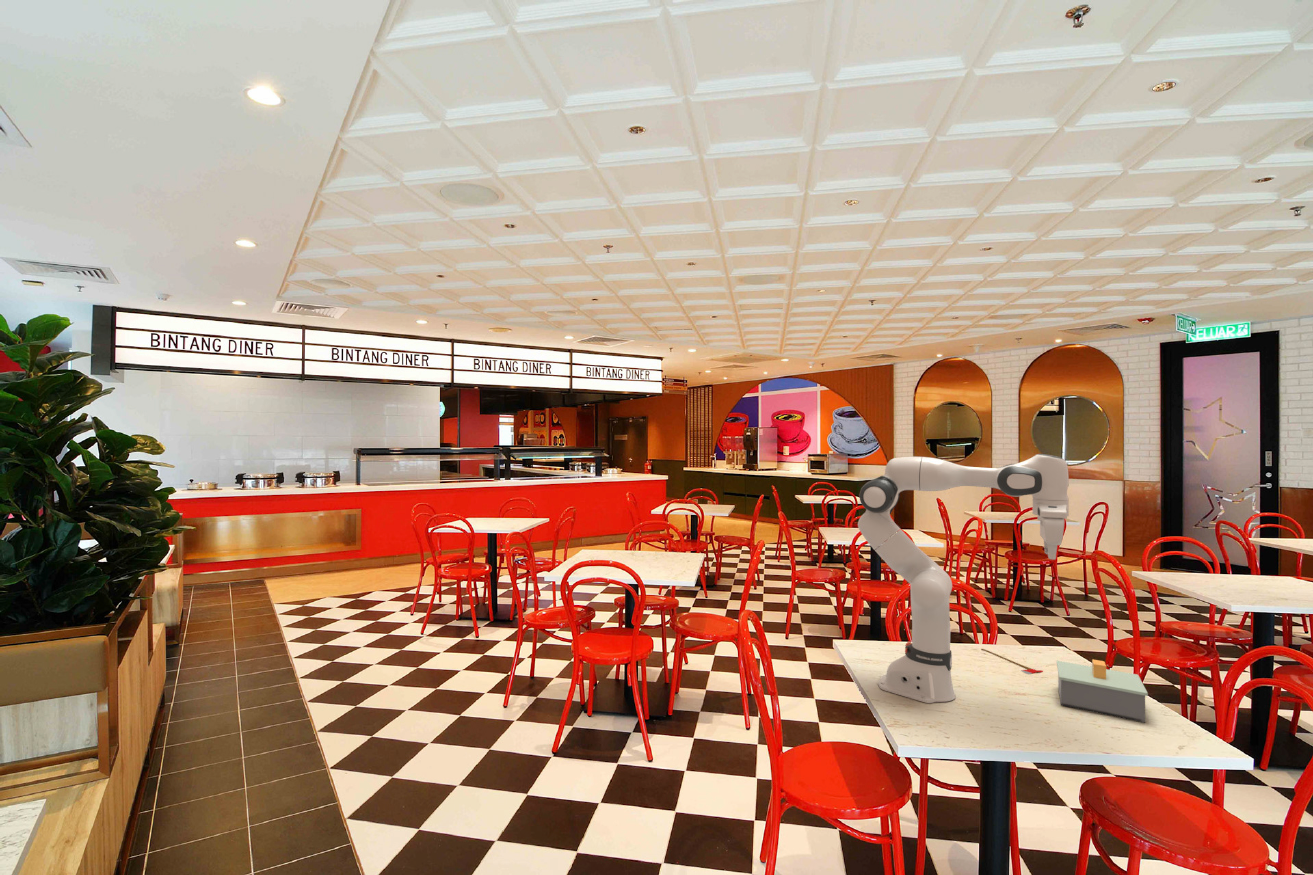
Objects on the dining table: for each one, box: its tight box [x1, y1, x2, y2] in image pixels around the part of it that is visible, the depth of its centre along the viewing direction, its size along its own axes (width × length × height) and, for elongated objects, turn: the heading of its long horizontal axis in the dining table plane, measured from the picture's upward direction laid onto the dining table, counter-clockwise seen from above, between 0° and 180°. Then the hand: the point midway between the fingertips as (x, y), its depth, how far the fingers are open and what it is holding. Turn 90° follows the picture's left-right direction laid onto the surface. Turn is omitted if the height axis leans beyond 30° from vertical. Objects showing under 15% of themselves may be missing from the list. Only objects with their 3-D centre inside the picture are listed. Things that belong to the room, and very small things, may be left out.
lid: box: [1056, 659, 1149, 697], centre depth 182 cm, size 21×17×6 cm
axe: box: [980, 648, 1044, 675], centre depth 218 cm, size 26×1×10 cm
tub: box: [1057, 674, 1146, 724], centre depth 182 cm, size 20×16×8 cm
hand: (1050, 556), depth 173 cm, fingers open, 8 cm apart
